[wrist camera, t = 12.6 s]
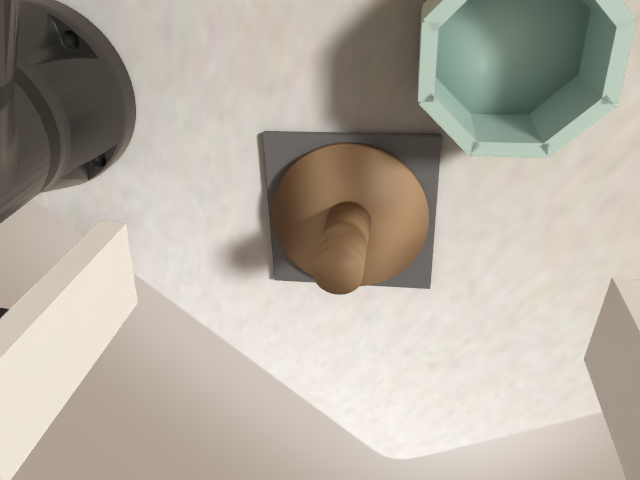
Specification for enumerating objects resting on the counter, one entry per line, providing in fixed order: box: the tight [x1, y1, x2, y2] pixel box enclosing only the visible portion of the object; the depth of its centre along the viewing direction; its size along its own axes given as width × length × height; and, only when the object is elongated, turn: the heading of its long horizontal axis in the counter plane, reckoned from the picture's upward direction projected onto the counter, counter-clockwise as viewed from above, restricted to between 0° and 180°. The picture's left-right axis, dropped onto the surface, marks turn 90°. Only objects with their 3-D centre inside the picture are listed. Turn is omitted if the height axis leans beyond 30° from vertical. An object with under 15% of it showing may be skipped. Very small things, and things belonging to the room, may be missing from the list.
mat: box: [263, 131, 441, 289], centre depth 49 cm, size 14×14×1 cm
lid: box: [272, 142, 429, 294], centre depth 45 cm, size 13×13×9 cm
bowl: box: [418, 0, 637, 158], centre depth 38 cm, size 12×12×7 cm
